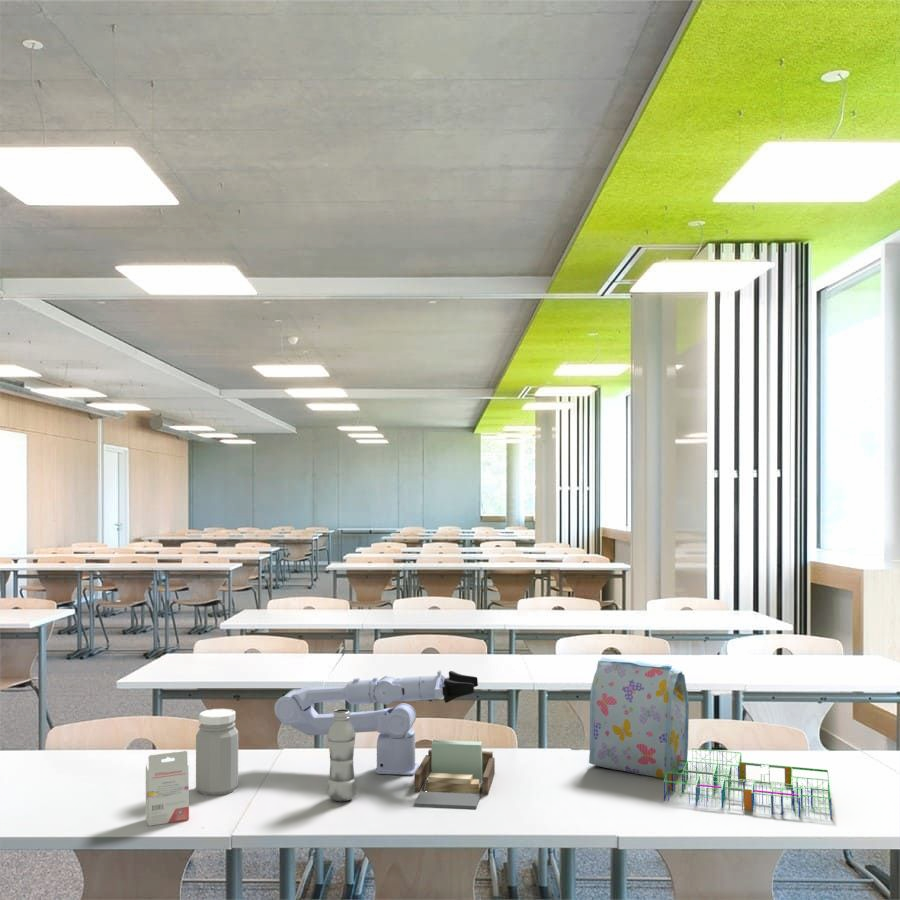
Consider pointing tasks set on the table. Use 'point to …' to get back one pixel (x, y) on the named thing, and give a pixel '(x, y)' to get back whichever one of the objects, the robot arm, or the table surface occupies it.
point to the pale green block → (457, 757)
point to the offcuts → (452, 783)
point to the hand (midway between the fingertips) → (475, 684)
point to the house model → (746, 794)
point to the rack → (487, 770)
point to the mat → (447, 800)
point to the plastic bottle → (341, 757)
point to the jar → (217, 752)
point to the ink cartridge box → (167, 789)
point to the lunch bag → (638, 717)
